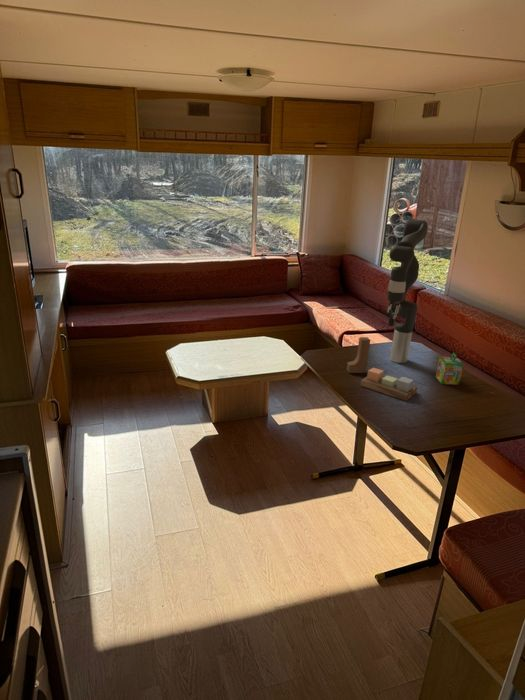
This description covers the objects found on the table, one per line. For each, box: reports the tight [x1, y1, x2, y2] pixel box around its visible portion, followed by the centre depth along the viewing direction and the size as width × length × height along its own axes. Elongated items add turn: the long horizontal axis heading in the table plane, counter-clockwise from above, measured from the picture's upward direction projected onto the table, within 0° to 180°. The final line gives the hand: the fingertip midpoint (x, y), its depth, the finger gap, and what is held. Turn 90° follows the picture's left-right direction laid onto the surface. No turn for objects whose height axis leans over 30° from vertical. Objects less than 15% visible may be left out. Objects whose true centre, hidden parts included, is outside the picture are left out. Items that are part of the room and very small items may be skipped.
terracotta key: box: [366, 367, 384, 383], centre depth 238 cm, size 6×6×5 cm
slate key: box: [396, 376, 414, 392], centre depth 230 cm, size 6×6×5 cm
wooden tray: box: [360, 375, 418, 402], centre depth 235 cm, size 12×23×3 cm, turn 52°
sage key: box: [381, 375, 399, 387], centre depth 235 cm, size 6×6×5 cm
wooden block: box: [346, 336, 371, 374], centre depth 251 cm, size 9×4×18 cm, turn 97°
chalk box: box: [434, 352, 464, 386], centre depth 246 cm, size 9×9×15 cm
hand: (391, 325), depth 235 cm, fingers closed
